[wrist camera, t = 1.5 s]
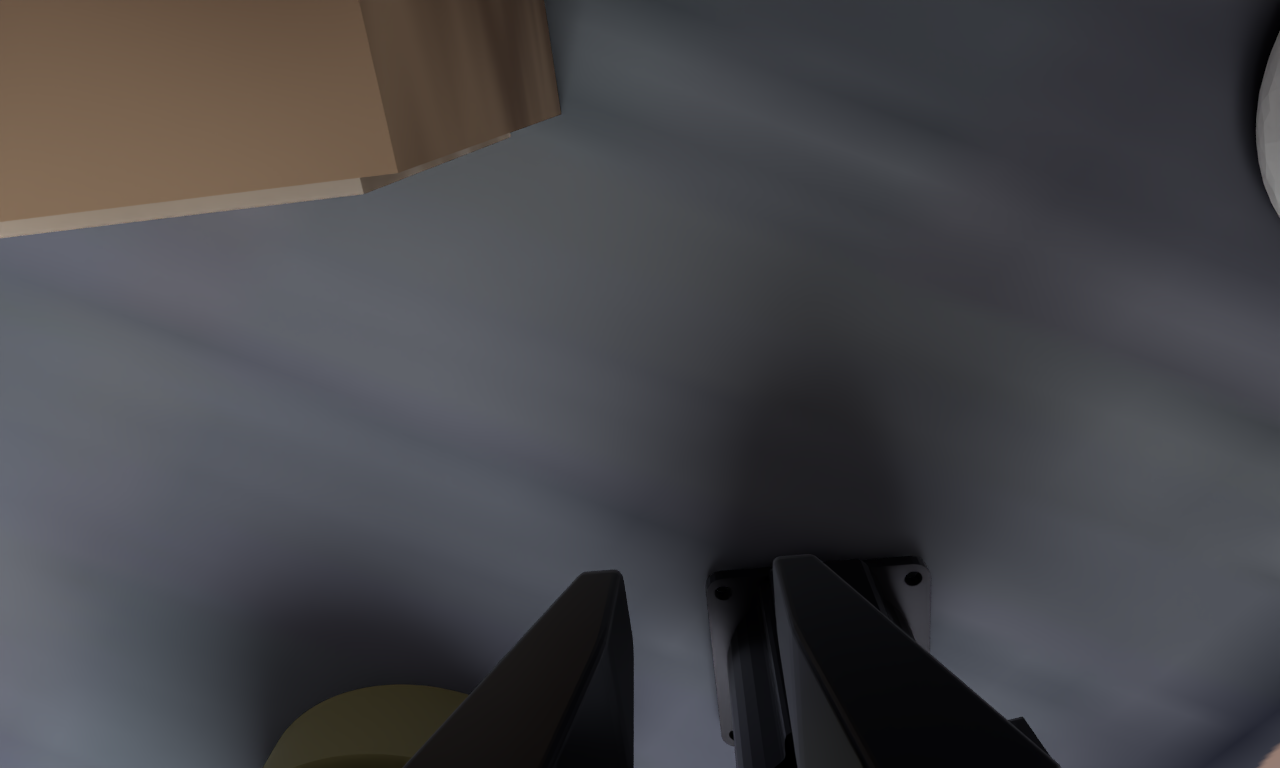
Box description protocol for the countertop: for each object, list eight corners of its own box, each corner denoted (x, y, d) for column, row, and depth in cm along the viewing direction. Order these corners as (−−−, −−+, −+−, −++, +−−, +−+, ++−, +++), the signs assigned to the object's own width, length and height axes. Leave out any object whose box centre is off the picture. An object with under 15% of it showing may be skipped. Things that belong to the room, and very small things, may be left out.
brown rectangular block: (562, 126, 19) (404, 203, 8) (211, 171, 20) (-399, 300, 8) (525, -127, 17) (242, -514, 6) (136, -68, 18) (-782, -311, 6)
